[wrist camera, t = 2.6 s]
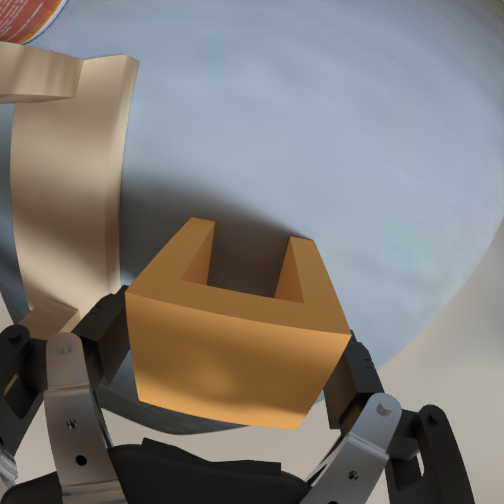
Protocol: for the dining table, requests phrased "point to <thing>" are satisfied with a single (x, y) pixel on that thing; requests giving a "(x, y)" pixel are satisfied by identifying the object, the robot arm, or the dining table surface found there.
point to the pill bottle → (26, 18)
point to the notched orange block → (233, 335)
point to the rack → (65, 178)
